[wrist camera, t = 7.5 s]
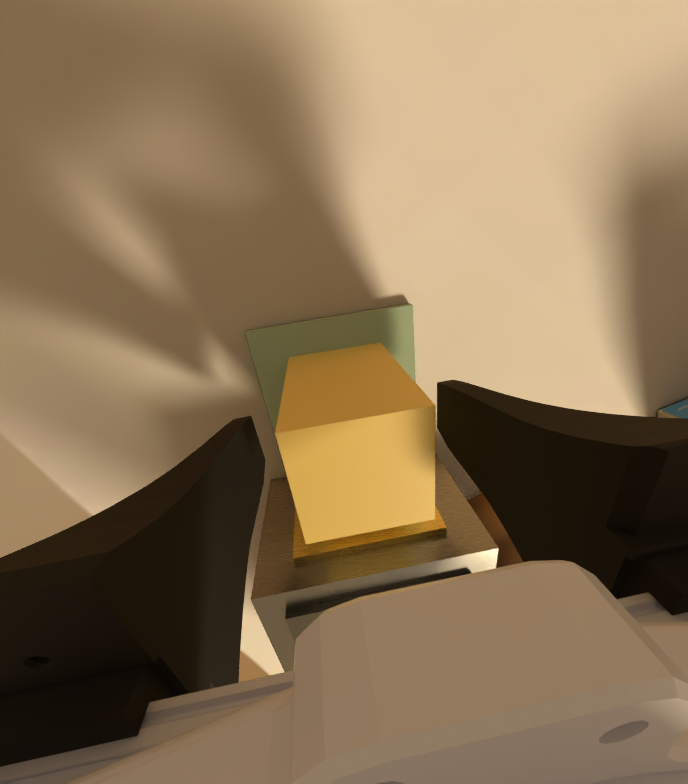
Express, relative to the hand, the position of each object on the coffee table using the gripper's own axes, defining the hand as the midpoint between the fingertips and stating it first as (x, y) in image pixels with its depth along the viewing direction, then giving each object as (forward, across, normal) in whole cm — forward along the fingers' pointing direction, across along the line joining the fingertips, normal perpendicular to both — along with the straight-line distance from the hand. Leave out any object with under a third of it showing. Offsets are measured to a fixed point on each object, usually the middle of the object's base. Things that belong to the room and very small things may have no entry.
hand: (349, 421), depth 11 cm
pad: (+3, 0, 0) cm, 3 cm away
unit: (+3, 0, +8) cm, 9 cm away
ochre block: (+2, 0, 0) cm, 3 cm away
